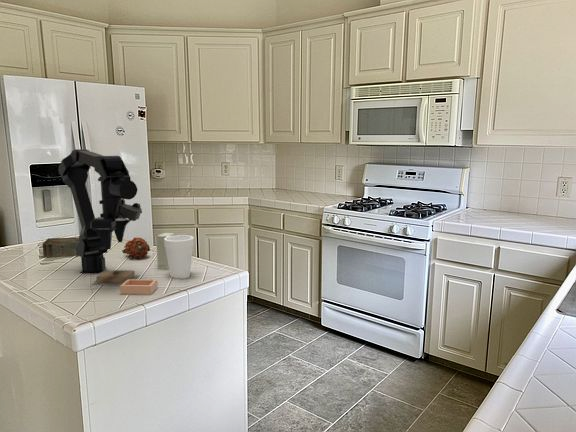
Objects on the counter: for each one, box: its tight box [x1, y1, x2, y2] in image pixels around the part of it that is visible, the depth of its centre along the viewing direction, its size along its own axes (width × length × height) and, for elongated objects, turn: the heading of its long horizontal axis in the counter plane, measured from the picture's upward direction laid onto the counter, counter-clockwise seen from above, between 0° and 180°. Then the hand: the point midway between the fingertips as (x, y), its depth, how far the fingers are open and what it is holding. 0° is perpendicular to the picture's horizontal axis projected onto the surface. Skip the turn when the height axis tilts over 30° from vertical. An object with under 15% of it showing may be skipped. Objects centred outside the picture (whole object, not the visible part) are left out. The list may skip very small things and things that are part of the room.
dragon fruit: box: [121, 237, 151, 259], centre depth 167 cm, size 8×8×12 cm
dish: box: [119, 278, 159, 296], centre depth 128 cm, size 9×6×3 cm, turn 89°
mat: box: [90, 274, 141, 286], centre depth 138 cm, size 12×10×1 cm
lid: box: [96, 269, 136, 283], centre depth 138 cm, size 10×6×3 cm
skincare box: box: [155, 232, 176, 271], centre depth 152 cm, size 6×4×12 cm
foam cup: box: [164, 234, 195, 280], centre depth 143 cm, size 10×9×13 cm
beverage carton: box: [42, 236, 80, 258], centre depth 171 cm, size 8×19×7 cm, turn 105°
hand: (114, 245), depth 136 cm, fingers open, 9 cm apart
